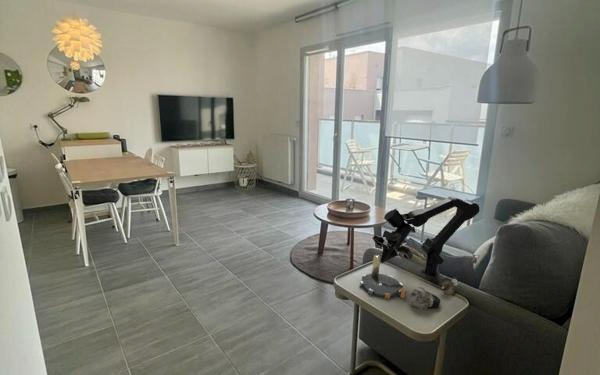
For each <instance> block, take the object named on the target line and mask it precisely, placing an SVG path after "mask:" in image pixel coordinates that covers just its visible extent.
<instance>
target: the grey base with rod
mask: <svg viewBox="0 0 600 375" xmlns="http://www.w3.org/2000/svg"><path fill="white" fill-rule="evenodd" d="M381 257H382V255H379V254H374V255H373V258H372V259H373V262H372V265H371V266H372V268H371V273H368V274H366V273H364V274H362V275H361V276H362V277H361V280H360V281H359V286H360V287H361V288H363V289H364V291H366V292H367V294H369V295H371V296H376V297H380V298H383V299H387V300H388V299H390V298H394V297H400V295H401V290H400V288H402V289H404V284H403V283H402V282H399V281H398V280H397V279H396V278H395V277H394V276H393V275H391V274H389V275H387V274H384V273H380V267H381Z"/></svg>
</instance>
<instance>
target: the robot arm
mask: <svg viewBox="0 0 600 375" xmlns="http://www.w3.org/2000/svg"><path fill="white" fill-rule="evenodd" d="M453 208H456V210H455V214H454V215H453V216H452V218H450V219H449V221H448V222H447V223H445V224H446V225H444V227H443V228H442V229H440V230H439V231H438V233H437V234H436V235H435V236H434V237H433V238H429V237H427V238H426V239H425V241H424V242H423V243H422V245H421V248H420V250H421V252H422V253H423V256H424V257H425V263H424V264H425V265H424V267H423V268H422V269H421V272H422V273H423V274H427V275H429V276H432V277H436V276H438V275H439V274H440V273H441V271H440V270H439V265H442V264H443V262H444V258H442V256H441V253H442V252H443V249H444V245H445V244H446V243H447V242H448V241H449V240H450V238H451V237H452V236H453V235H454V234H455V233H456V232H457V231H458V230H459V229H460V227H461V226H462V225H463V224H464V223H465V222H467V221H469V220H471V219H473V218H474V217H476V216H477V215H478V214H479V213H480V206H479V204H477V203H476V202H474V201H472V200H470V199H460V198H457V197H455V196H453V195H450V196H448V197H447V198H444V199H442V200H441V201H439V202H436V203H434V204H432V205H430V206H429V205H428V206H427V207H425V208H420V209H414V210H411V211H409V212H407V213H402V214H401V213H400V211H399V210H398V209H397V208H394V209H391V210H390V211H388V212H386V214H384V218H383V219H384V220H385V221H386V222H387V223H388V224H389V225H390V226H391V228H393V229H394V228H396V229H395V230H392V231H388V230H386V229H384V231H383V234H382V236H381V235H378V234H374V236H372V241H373V242H374V243H375V245H376V246H379V247H380V248H382V253H381V261H380V264H381V263H382V264H383V263H385V262H387V261H390V260H391V259H393V258H395V257H399V255H400V253H401V254H403V258H404V259H407V260H408V261H411V260H412V258H413V256H414V255H413V253H412V251H411V249H410V248H409V247H406V246H404V245H403V243H404V244H406V243H407V241H406V239H407V238H408V236H409V235H410V233H412V234H415V233H416V232H417V231H416V229H415V228H419V227H422V226H423V225H424V224H426V223H428V221H429V219H432V218H434V217H435V216H438V215H440V214H442V213H444V212H446V211H449V210H451V209H453ZM384 238H385V239H384Z"/></svg>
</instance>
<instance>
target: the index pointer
mask: <svg viewBox="0 0 600 375" xmlns="http://www.w3.org/2000/svg"><path fill="white" fill-rule="evenodd" d="M400 290H401V295H400V296H399V297H400V298H402V299H406V297H407V291H408V289H405V288H400Z"/></svg>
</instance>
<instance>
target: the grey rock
mask: <svg viewBox="0 0 600 375" xmlns="http://www.w3.org/2000/svg"><path fill="white" fill-rule="evenodd" d="M408 305H410V306H412V307H414V308H416V309H420V310H422V311H423V310H425V311H427V310H428V308H435V309H436V308H439V306H440V305H441V299H440V297H438V296H436V294H433V293H431V292H429V291H427V290H426V289H425V288H424V287H422V286H418V287H416V288H414V289H413V291H412V292H411V294H410V299H409V301H408Z"/></svg>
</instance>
